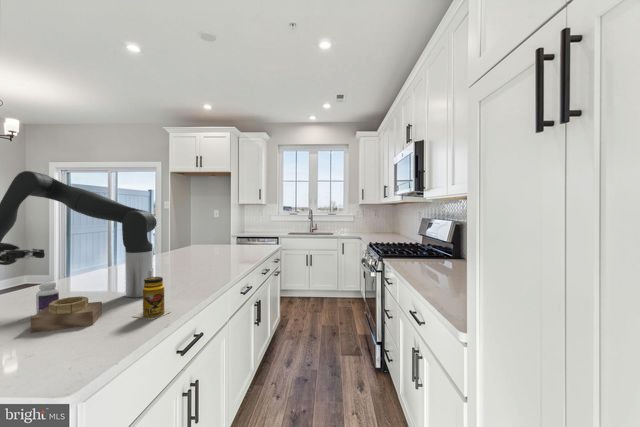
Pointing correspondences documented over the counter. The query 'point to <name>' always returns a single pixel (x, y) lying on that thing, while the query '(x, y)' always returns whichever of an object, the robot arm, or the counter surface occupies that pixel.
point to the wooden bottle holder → (66, 314)
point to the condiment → (153, 299)
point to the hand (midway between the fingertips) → (27, 256)
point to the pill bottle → (46, 295)
